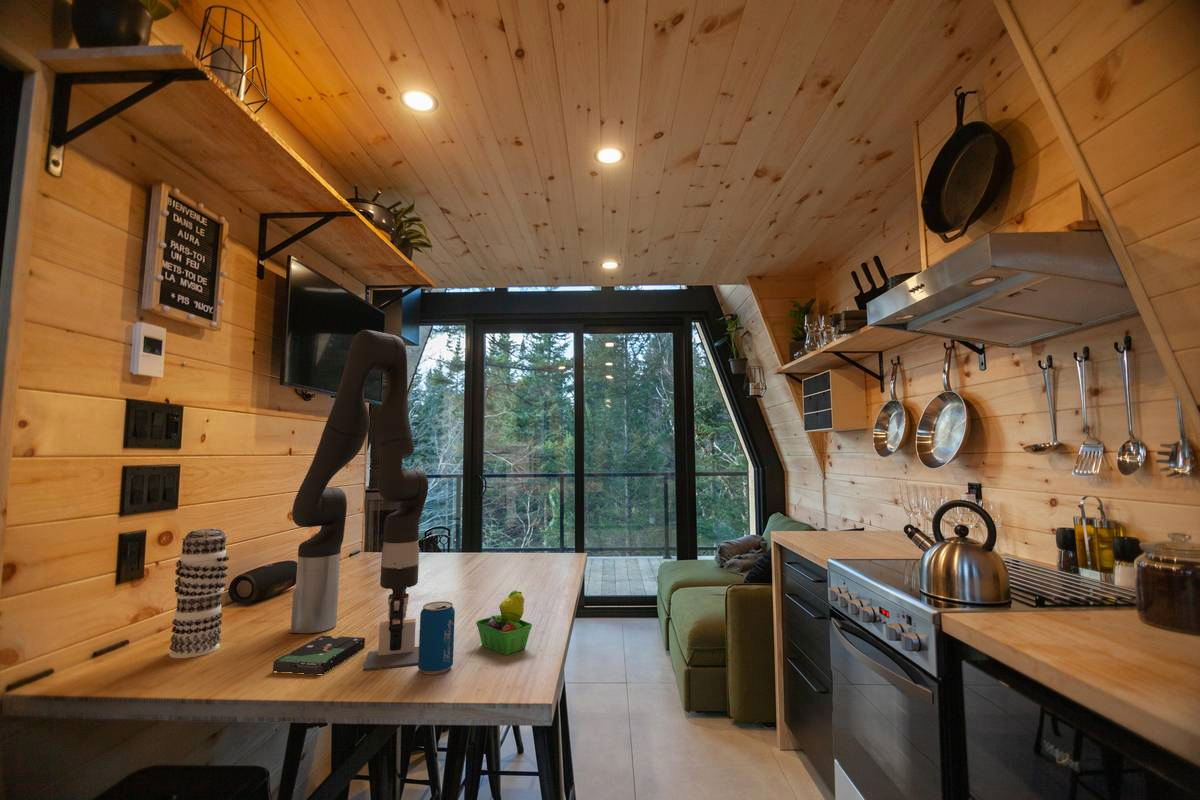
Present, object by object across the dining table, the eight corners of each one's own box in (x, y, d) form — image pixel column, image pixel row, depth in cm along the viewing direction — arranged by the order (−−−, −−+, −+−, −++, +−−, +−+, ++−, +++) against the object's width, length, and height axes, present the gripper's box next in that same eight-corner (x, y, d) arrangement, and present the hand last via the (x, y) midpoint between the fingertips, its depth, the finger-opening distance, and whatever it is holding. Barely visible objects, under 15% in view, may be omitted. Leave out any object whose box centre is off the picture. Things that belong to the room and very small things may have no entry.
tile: (378, 655, 107) (379, 624, 107) (379, 651, 109) (380, 621, 109) (414, 651, 109) (415, 621, 110) (414, 648, 111) (415, 618, 112)
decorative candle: (206, 640, 116) (216, 526, 119) (231, 647, 112) (240, 529, 115) (157, 654, 108) (169, 531, 111) (182, 662, 104) (193, 534, 107)
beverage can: (433, 679, 96) (436, 611, 98) (410, 671, 100) (413, 606, 101) (460, 667, 102) (462, 603, 103) (437, 660, 105) (439, 599, 107)
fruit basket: (473, 645, 114) (474, 592, 115) (506, 635, 120) (507, 585, 122) (504, 659, 106) (506, 601, 107) (538, 647, 113) (538, 593, 114)
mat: (363, 670, 100) (363, 668, 100) (368, 653, 109) (368, 651, 109) (423, 663, 103) (423, 661, 103) (423, 647, 112) (423, 646, 112)
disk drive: (320, 648, 113) (271, 675, 99) (320, 635, 114) (272, 660, 99) (365, 650, 112) (322, 678, 98) (366, 636, 113) (323, 662, 98)
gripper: (383, 557, 117) (380, 634, 115) (378, 570, 103) (373, 658, 101) (419, 555, 119) (416, 631, 117) (418, 568, 105) (414, 653, 103)
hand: (396, 643), depth 109 cm, fingers open, 7 cm apart
